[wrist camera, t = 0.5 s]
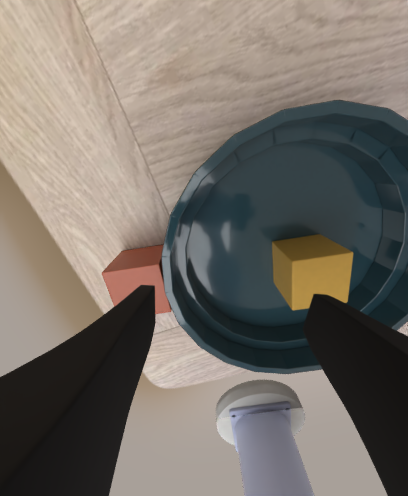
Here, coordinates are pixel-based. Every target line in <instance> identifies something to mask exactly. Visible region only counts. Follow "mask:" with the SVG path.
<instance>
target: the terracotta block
mask: <svg viewBox="0 0 408 496" xmlns="http://www.w3.org/2000/svg"><path fill="white" fill-rule="evenodd" d="M162 249H163V245H157V246H151V247H145V248H138V249H132V250H126V251H121V253H120V254H119V255H118V256H117V257H116V258H115V259H114V260H113V261H112V262H111V263H110V264H109V265H108V267H107V268H106V269H105V270H104V271H103V272H102V276H103V278H104V281H105V283H106V286H107V289H108V291H109V294H110V296H111V299H112V302H113V304H114V307H115V306H116V305H117V304H118V303H120V302H121V301H122V300H123V299H124V298H126V297H127V296H128V295H129V294H130V293H132V292H133V291H134V290H135V289H136V288H138V287H139V286H140V285H155V314H159V313H166V312H171V310H172V308H171V306H170V303H169V301H168V299H167V297H166V295H165V291H164V281H163V271H162V260H161V254H162Z"/></svg>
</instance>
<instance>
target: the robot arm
mask: <svg viewBox="0 0 408 496" xmlns="http://www.w3.org/2000/svg"><path fill="white" fill-rule="evenodd" d="M154 327H155V285H140V286H139V287H138V288H136V289H135V290H134V291H133V292H132V293H130V294H129V295H128V296H127V297H126V298H124V299H123V300H122V301H121V302H120V303H118V304H117V305H116V306H115V307H113V308H112V309H111V310H110V311H108V312H107V313H106V314H104V315H103V316H102V317H100V318H99V319H98V320H96V321H95V322H93V323H92V324H91V325H90V326H88V327H87V328H85V329H84V330H82V331H81V332H79V333H78V334H76V335H75V336H73V337H71V338H70V339H68V340H67V341H65V342H63V343H62V344H60V345H58V346H57V347H55V348H53V349H52V350H50V351H48V352H46V353H45V354H43V355H41V356H39V357H37V358H35V359H34V360H32V361H30V362H28V363H26V364H24V365H23V366H21V367H19V368H17V369H15V370H14V371H11V372H10V373H8V374H6V375H4V376H2V377H0V496H109V492H110V488H111V483H112V479H113V475H114V470H115V467H116V462H117V458H118V454H119V450H120V445H121V441H122V437H123V433H124V429H125V425H126V421H127V417H128V413H129V410H130V406H131V403H132V400H133V396H134V394H135V390H136V388H137V385H138V382H139V379H140V376H141V373H142V370H143V367H144V364H145V361H146V358H147V355H148V352H149V349H150V346H151V341H152V337H153V332H154ZM303 332H304V334H305V337H306V339H307V341H308V344H309V346H310V348H311V350H312V352H313V354H314V356H315V357H316V359H317V361H318V362H319V364H320V366H321V368H322V369H323V371H324V373H325V374H326V376H327V378H328V379H329V381H330V383H331V384H332V386H333V388H334V389H335V391H336V393H337V394H338V396H339V398H340V399H341V401H342V402H343V404H344V406H345V408H346V410H347V411H348V413H349V415H350V417H351V418H352V420H353V423H354V425H355V427H356V429H357V431H358V433H359V435H360V437H361V439H362V441H363V443H364V445H365V447H366V449H367V451H368V453H369V455H370V457H371V460H372V462H373V464H374V466H375V468H376V470H377V473H378V475H379V477H380V479H381V481H382V484H383V486H384V488H385V490H386V492H387V495H388V496H408V336H406V335H404V334H402V333H400V332H398V331H396V330H394V329H392V328H390V327H388V326H387V325H385V324H383V323H381V322H379V321H377V320H375V319H374V318H372V317H370V316H368V315H366V314H364V313H362V312H361V311H359V310H357V309H355V308H353V307H351V306H350V305H348V304H346V303H344V302H342V301H340V300H338V299H336V298H334V297H332V296H329V295H327V294H313V297H312V301H311V304H310V307H309V310H308V313H307V316H306V320H305V323H304V326H303ZM229 414H230V420H231V425H232V431H233V437H234V442H235V448H236V452H238V453H239V460H240V466H241V473H242V481H243V488H244V495H245V496H314V493H313V490H312V487H311V485H310V482H309V479H308V476H307V473H306V471H305V468H304V465H303V462H302V459H301V456H300V454H299V451H298V448H297V445H296V442H295V439H294V437H293V434H292V431H291V405H290V402H288V401H285V402H277V403H269V404H262V405H254V406H246V407H239V408H232V409H230V410H229Z"/></svg>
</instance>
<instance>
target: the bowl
mask: <svg viewBox="0 0 408 496" xmlns="http://www.w3.org/2000/svg"><path fill="white" fill-rule="evenodd" d="M318 234H320V235H322V236H324V237H326V238H328V239H330V240H332V241H333V242H335V243H337V244H339V245H341V246H343V247H344V248H346V249H348V250H350V251H352V252H353V261H352V269H351V278H350V286H349V295H348V302H347V303H346V304H348V305H350V306H351V307H353V308H355V309H357V310H359V311H361V312H362V313H364V314H366V315H368V316H370V317H372V318H374V319H375V320H377V321H379V322H381V323H383V324H385V325H387V326H388V327H390V328H392V329H394V330H396V331H397V330H398V329H399V328H401V327H402V326H403V325H404V324H405V323H406V322H408V120H407V119H405V118H404V117H402V116H400V115H399V114H397V113H396V112H394V111H392V110H391V109H388V108H384V107H378V106H372V105H366V104H360V103H355V102H349V101H343V100H333V101H328V102H322V103H316V104H310V105H305V106H299V107H293V108H288V109H284V110H281V111H279V112H277V113H275V114H273V115H271V116H269V117H267V118H265V119H263V120H262V121H260V122H258V123H256V124H254V125H252V126H250V127H248V128H246V129H244V130H242V131H240V132H238V133H237V134H235V135H233V136H232V137H231V138H230V139H229V140H228V141H227V142H225V143H224V144H223V145H222V146H221V147H220V148H219V149H218V150H217V151H216V152H215V153H214V154H213V155H212V156H211V157H210V158H209V159H208V160H207V161H206V162H205V163H204V164H203V165H202V166H201V167H200V168H198V169H197V170H196V171H195V173H194V174H193V176H192V177H191V179H190V181H189V183H188V184H187V186H186V188H185V190H184V191H183V193H182V195H181V197H180V198H179V200H178V202H177V204H176V205H175V207H174V209H173V211H172V212H171V215H170V218H169V222H168V227H167V231H166V236H165V240H164V245H163V249H162V254H161V260H162V271H163V281H164V291H165V295H166V297H167V299H168V301H169V303H170V306H171V308H172V310H173V312H174V315H175V317H176V319H177V321H178V323H179V325H180V326H181V327H182V328H183V329H184V330H185V331H186V332H187V334H188V335H189V336H190V337H191V338H192V339H193V340H194V341H195V342H196V344H197V345H198V346H200V347H201V348H202V349H204V350H205V351H207V352H209V353H210V354H212V355H214V356H215V357H217V358H218V359H220V360H222V361H223V362H226V363H228V364H231V365H234V366H238V367H241V368H244V369H247V370H251V371H254V372H265V373H278V374H291V373H299V372H307V371H314V370H321V369H322V368H321V366H320V364H319V362H318V361H317V359H316V357H315V356H314V354H313V352H312V350H311V348H310V346H309V344H308V341H307V339H306V337H305V334H304V332H303V326H304V323H305V320H306V316H307V313H308V310H309V308H307V309H300V310H292V309H291V308H290V306H289V305H288V303H287V302H286V300H285V299H284V297H283V296H282V294H281V293H280V291H279V290H278V288H277V287H276V285H275V284H274V281H273V255H272V242H273V241H279V240H285V239H292V238H298V237H305V236H311V235H318Z"/></svg>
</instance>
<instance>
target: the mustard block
mask: <svg viewBox="0 0 408 496" xmlns="http://www.w3.org/2000/svg"><path fill="white" fill-rule="evenodd" d="M272 255H273V281H274V284H275V285H276V287H277V288H278V290H279V291H280V293H281V294H282V296H283V297H284V299H285V300H286V302H287V303H288V305H289V306H290V308H291V309H292V310H300V309H307V308H309V307H310V304H311V301H312V297H313V294H327V295H329V296H332V297H334V298H336V299H338V300H340V301H342V302H344V303H347V302H348V295H349V286H350V278H351V269H352V261H353V252H352V251H350V250H348V249H346V248H344V247H343V246H341V245H339V244H337V243H335V242H333V241H332V240H330V239H328V238H326V237H324V236H322V235H320V234H318V235H311V236H305V237H298V238H292V239H285V240H279V241H273V242H272Z"/></svg>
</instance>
